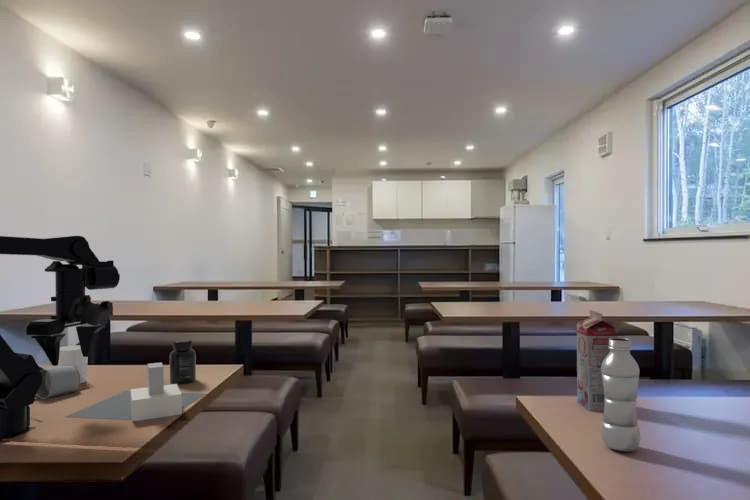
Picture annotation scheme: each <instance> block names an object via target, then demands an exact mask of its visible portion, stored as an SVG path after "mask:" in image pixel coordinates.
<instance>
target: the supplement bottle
mask: <svg viewBox="0 0 750 500" xmlns="http://www.w3.org/2000/svg"><path fill="white" fill-rule="evenodd" d="M192 347H193V341H192V339H189V338H187V339H185V338H183V339H176V340H173V347H172V348H173V350H172V351H171V352H170V353H169V385H171V384H177V386H179V385H189V384H191V383H195V382H196V381H197V368H196V367H197V365H196V364H197V361H196V360H197V358H196V357H197V356H196V351H195V350H194V349H193V348H192Z"/></svg>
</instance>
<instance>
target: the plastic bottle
mask: <svg viewBox="0 0 750 500" xmlns="http://www.w3.org/2000/svg"><path fill="white" fill-rule="evenodd" d="M631 345H632V344H631V339H630V338H624V337H617V338H609V346H608V349H610V352H609V354H608V355H607V356H606V357H605V359H604V360H603V362H602V365H601V372H602V379H603V386H604V396H605V397H604V401H605V405H604V411H603V418H602V423H601V429H600V434H601V440H602V442H603V443H604V445H605V446H606V447H608V448H609V449H612V450H614V451H620V452H633V451H636V450H637V449H638V448H639V446H640V443H641V431H640V427H639V424H638V423H639V422H638V413H637V412H638V411H637V398H638V395H637V394H638V385H639V379H640V370H641V369H640V367H639V364H638V362H637V361H636V360H635V358H634V357H633V356H632V354H631V351H632V347H631Z"/></svg>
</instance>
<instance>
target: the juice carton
mask: <svg viewBox="0 0 750 500" xmlns="http://www.w3.org/2000/svg"><path fill="white" fill-rule="evenodd" d="M609 338H618V328H617V327H616V326H614V325H612V324H610V323H609V322H606V321H605V320H604V319H603V313H601V312H597V311H594V310H591V309H590V310H589V317H587V318H585V319H583V320H582V321H579V322H578V323H577V324H576V373H577V374H576V376H577V377H576V378H577V379H576V384H577V385H576V386H577V388H576V389H577V391H576V392H577V398H576V399H577V401H576V402H577V403H578V404H579V405H580V406H582V407H583V408H584V409H586V410H587V411H589V412H602V411H603V412H604V405H605V401H604V397H605V396H604V386H603V379H602V372H601V365H602V362H603V360H604V359H605V357H606V356H607V355H608V354H609V352H610V349H608V346H609Z"/></svg>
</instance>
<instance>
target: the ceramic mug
mask: <svg viewBox="0 0 750 500" xmlns="http://www.w3.org/2000/svg"><path fill="white" fill-rule="evenodd" d="M42 368H43V367H42ZM40 371H41V373H42V375H43V378H44V379H43V381H42V385H41V387H40V388H39V390H38V391H37V394H36V396H37V397H39V399H41V400H48V399H51V398H56V397H59V396H64V395H69V394H71V393H75V392H76V391H77V390H78V389H79V386H80V385H81V384H80V374H79V371H78V370H77V368H75V367H74V366H61V367H57V366H53V367H45V368H43V370H40Z"/></svg>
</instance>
